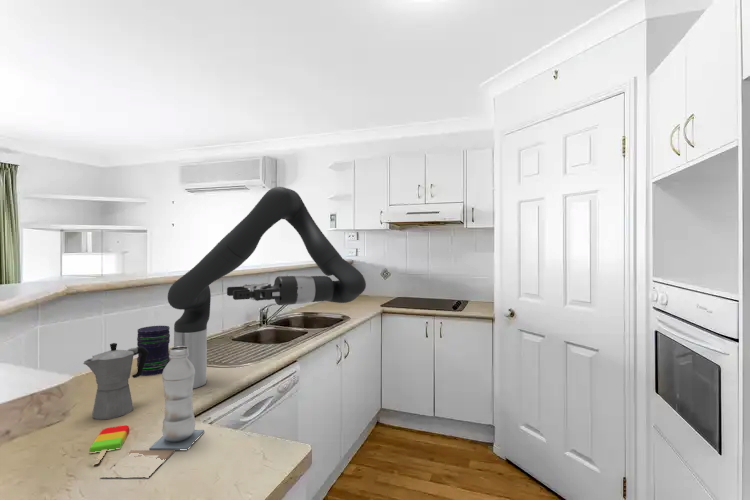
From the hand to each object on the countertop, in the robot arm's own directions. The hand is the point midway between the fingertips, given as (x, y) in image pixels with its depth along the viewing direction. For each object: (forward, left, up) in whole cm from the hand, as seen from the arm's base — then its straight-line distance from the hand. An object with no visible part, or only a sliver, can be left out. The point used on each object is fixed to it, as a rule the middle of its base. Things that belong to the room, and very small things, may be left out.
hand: (230, 293), depth 91 cm
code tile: (+17, -11, -32) cm, 38 cm away
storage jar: (-40, -41, -32) cm, 66 cm away
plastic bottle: (+8, -8, -32) cm, 34 cm away
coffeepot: (-8, -32, -32) cm, 46 cm away
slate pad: (+8, -8, -32) cm, 34 cm away
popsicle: (+11, -22, -33) cm, 41 cm away
